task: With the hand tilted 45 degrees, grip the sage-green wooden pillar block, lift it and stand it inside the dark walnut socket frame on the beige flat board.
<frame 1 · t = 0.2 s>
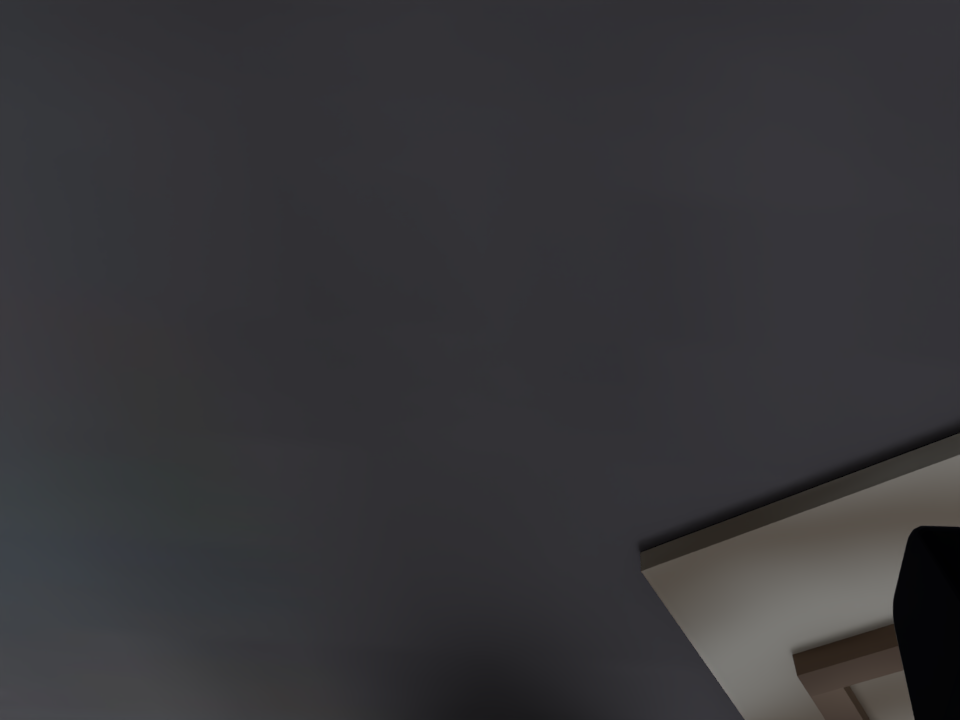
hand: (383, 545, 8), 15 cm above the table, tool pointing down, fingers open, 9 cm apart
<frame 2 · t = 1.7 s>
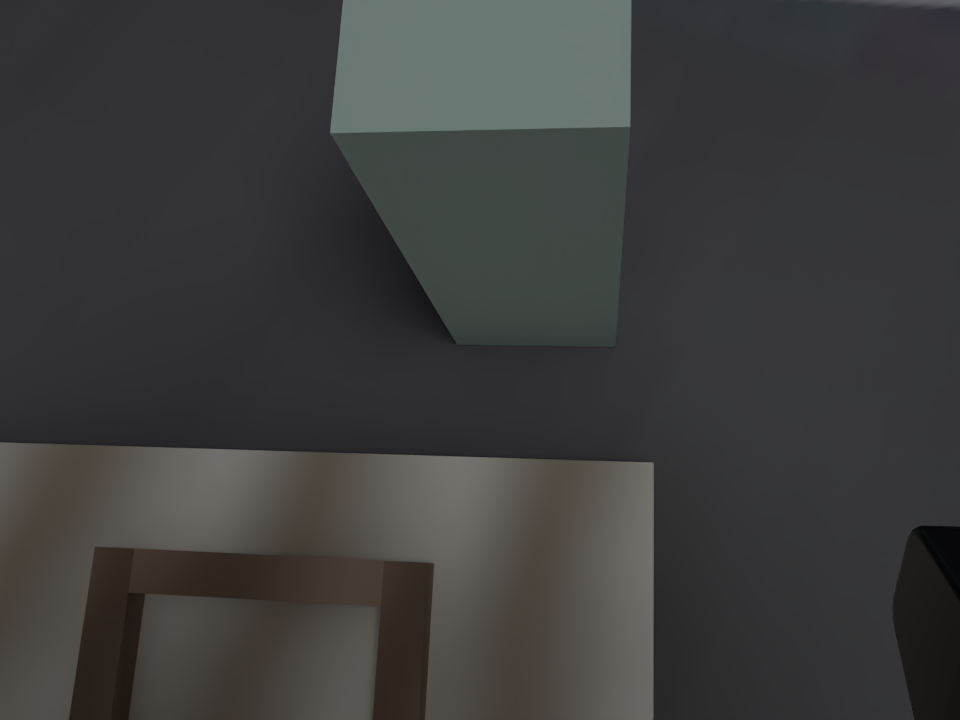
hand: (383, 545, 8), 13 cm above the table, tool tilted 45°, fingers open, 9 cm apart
pillar block: (537, 270, 23), on the table
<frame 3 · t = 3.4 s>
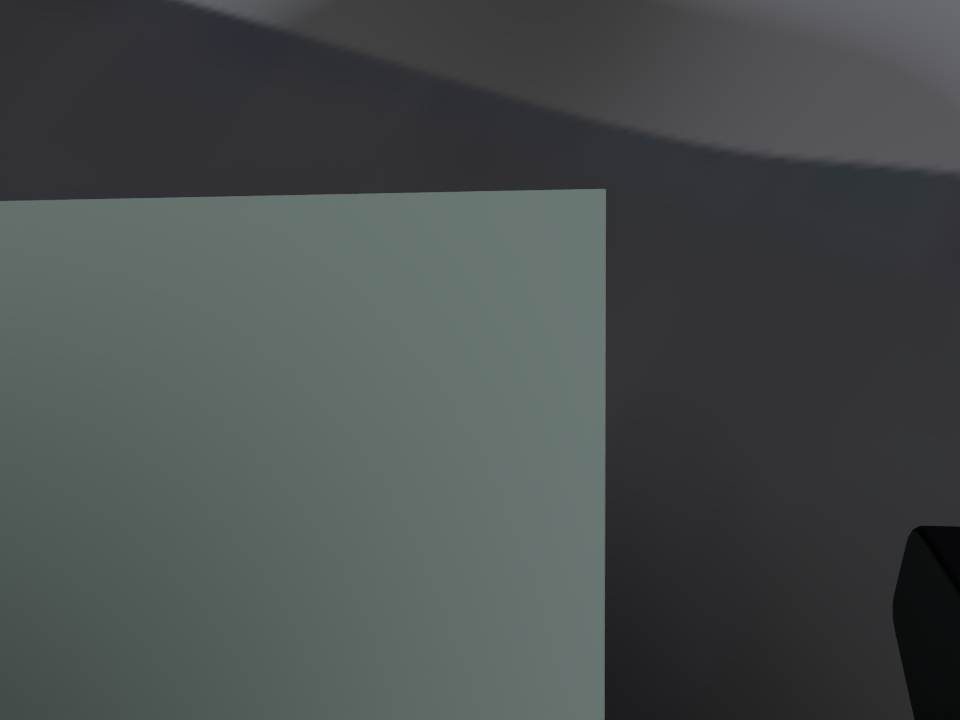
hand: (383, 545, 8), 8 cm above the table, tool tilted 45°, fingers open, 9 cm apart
pillar block: (483, 572, 15), on the table
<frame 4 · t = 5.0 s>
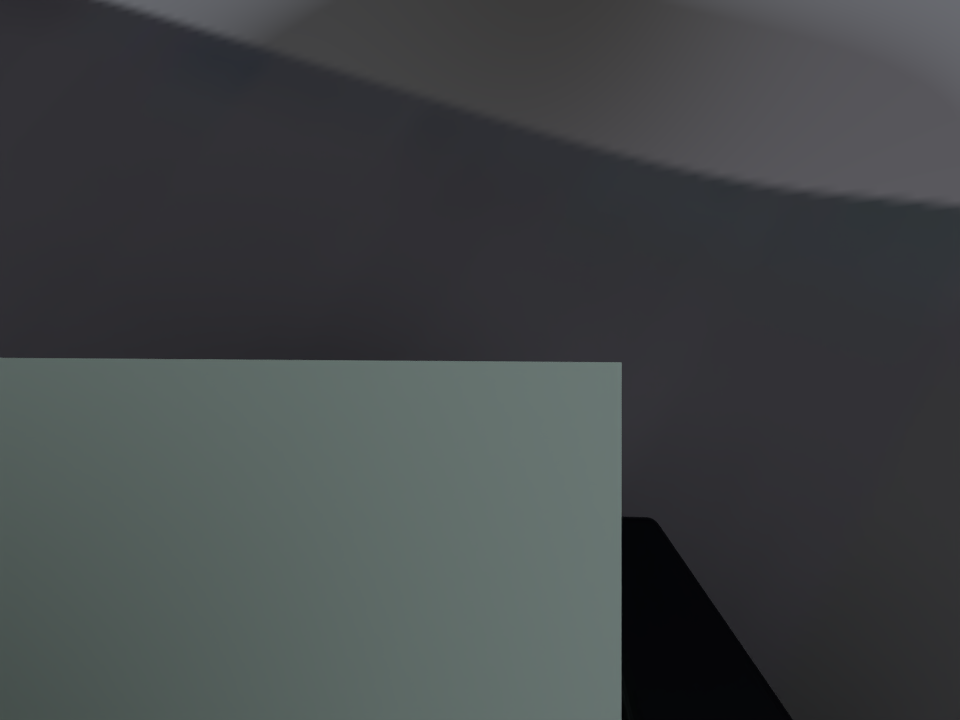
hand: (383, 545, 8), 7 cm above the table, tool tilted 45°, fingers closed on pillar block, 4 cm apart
pillar block: (474, 656, 14), on the table, touching gripper
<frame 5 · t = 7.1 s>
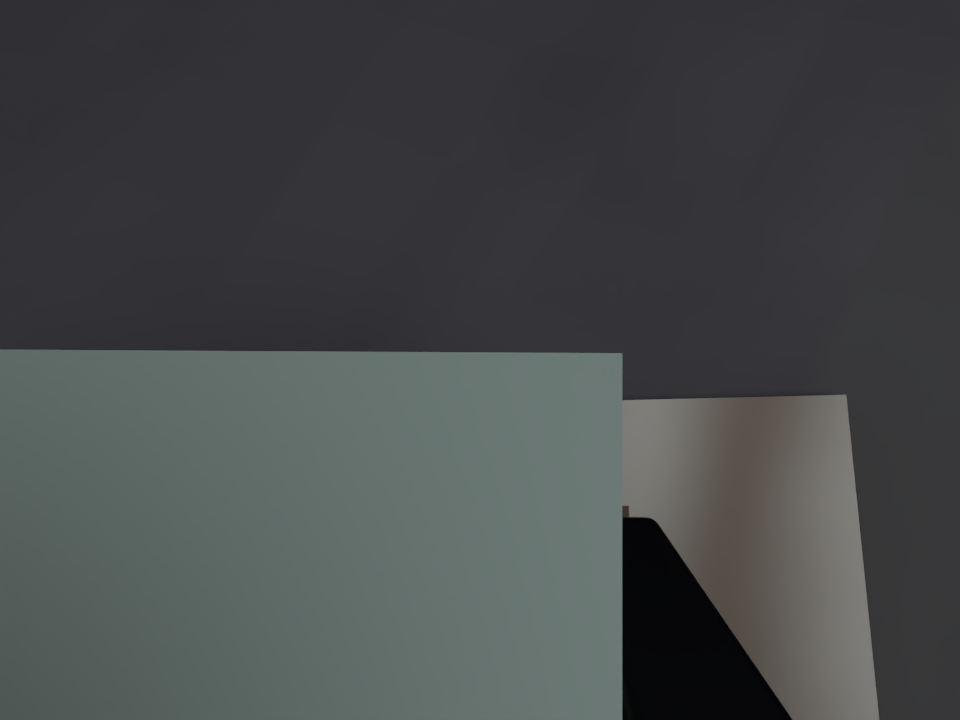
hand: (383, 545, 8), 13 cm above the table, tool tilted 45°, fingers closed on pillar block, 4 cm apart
pillar block: (475, 655, 14), point 7 cm above the table, touching gripper
beige flat board: (457, 688, 20), on the table
when the fingers open (9 cm above the table, at t = 9.1 s): pillar block drops 1 cm, resting on beige flat board.
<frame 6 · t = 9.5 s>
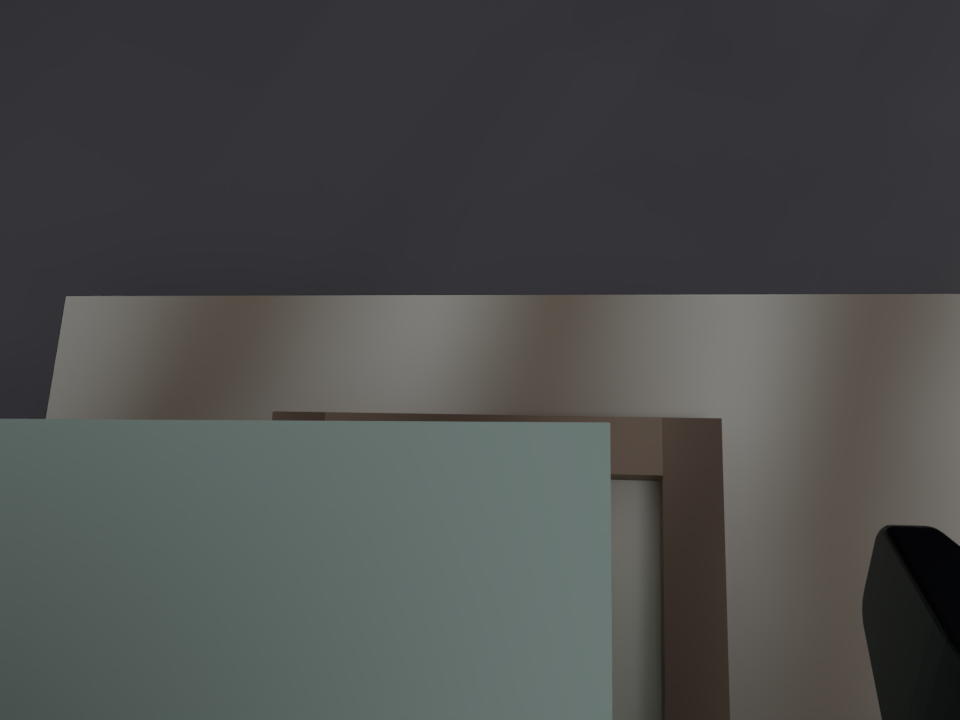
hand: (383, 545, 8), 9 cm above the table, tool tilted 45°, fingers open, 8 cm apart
pillar block: (485, 649, 15), point 1 cm above the table, touching beige flat board
beige flat board: (491, 645, 16), on the table
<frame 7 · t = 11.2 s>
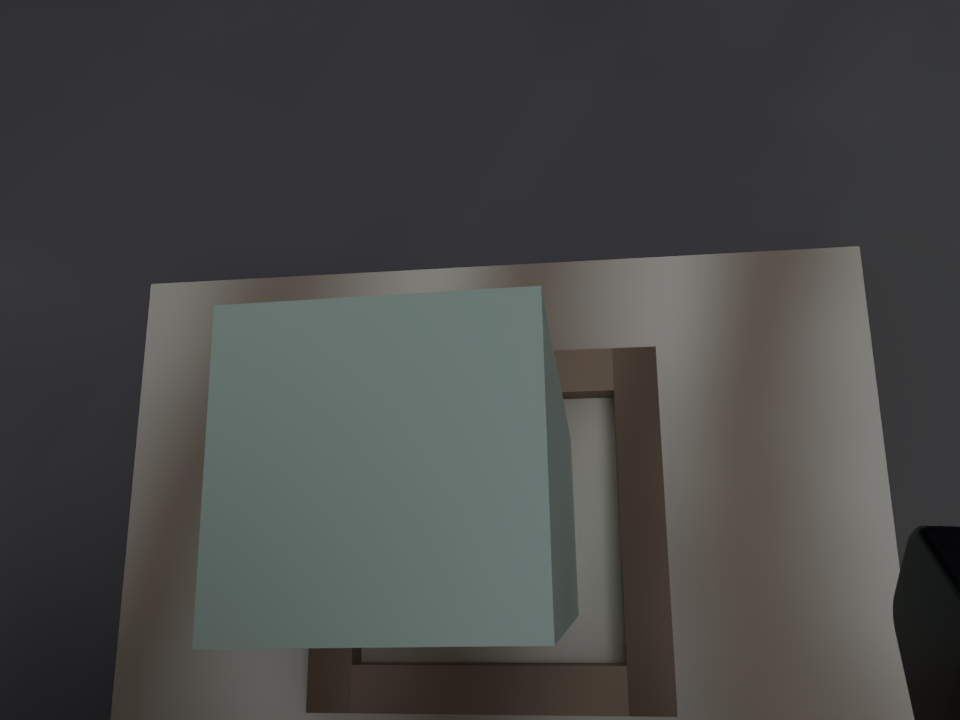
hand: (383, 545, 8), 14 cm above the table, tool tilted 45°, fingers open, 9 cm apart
pillar block: (488, 527, 20), point 1 cm above the table, touching beige flat board
beige flat board: (493, 529, 21), on the table
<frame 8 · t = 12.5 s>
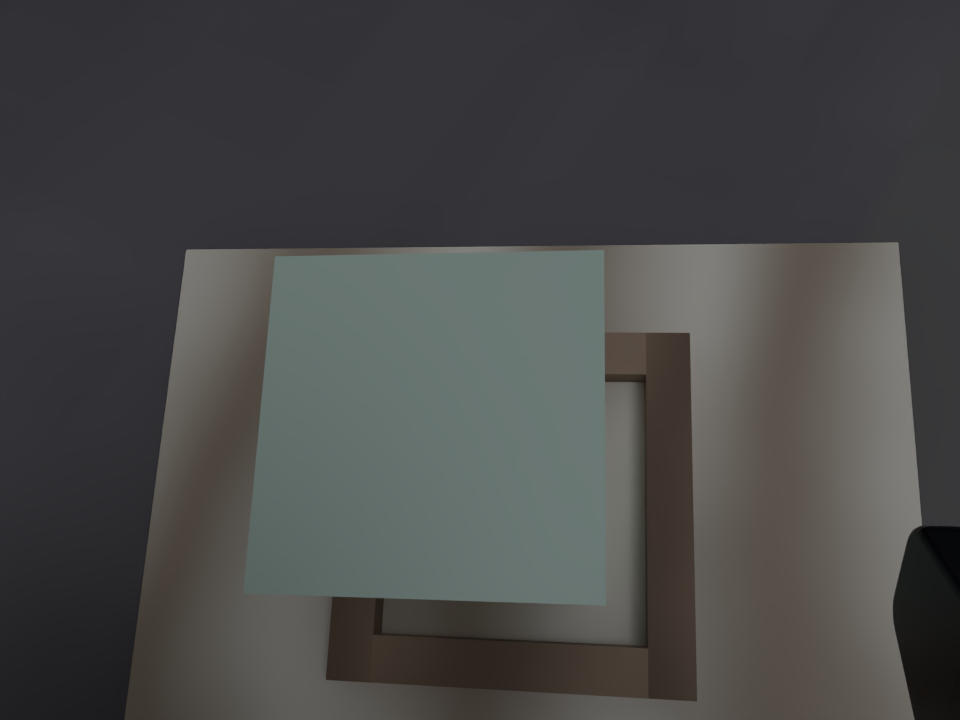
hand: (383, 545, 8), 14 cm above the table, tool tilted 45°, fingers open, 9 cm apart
pillar block: (514, 506, 21), point 1 cm above the table, touching beige flat board
beige flat board: (518, 508, 21), on the table
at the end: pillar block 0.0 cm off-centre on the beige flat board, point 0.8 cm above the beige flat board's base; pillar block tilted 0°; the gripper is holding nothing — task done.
